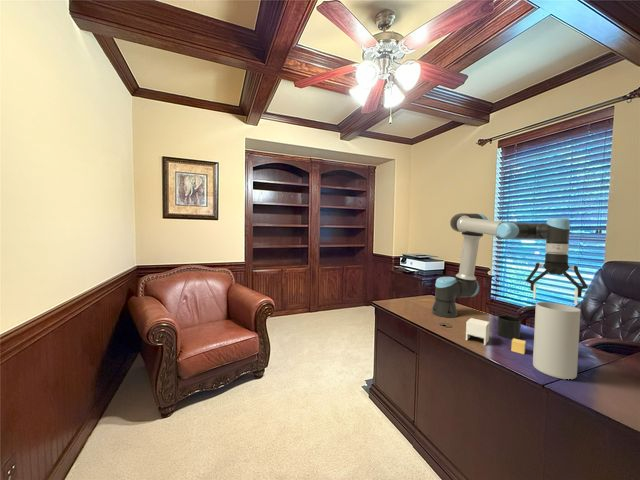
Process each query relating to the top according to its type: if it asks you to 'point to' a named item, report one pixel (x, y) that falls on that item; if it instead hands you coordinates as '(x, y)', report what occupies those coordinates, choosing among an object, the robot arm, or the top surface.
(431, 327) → the top surface
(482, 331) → the cover
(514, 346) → the block
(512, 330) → the mug
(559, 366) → the cylinder vase
